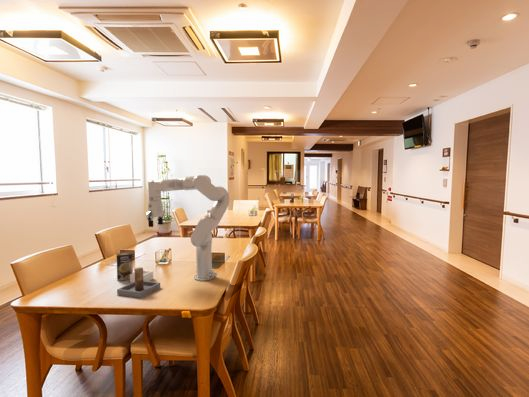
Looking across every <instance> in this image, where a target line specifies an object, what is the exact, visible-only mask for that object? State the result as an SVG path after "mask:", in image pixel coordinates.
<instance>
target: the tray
mask: <svg viewBox="0 0 529 397" xmlns="http://www.w3.org/2000/svg"><path fill="white" fill-rule="evenodd" d="M159 289H161V282H159V281H158V282H157V281H151V280H150V281H144V289H143V290H141V291H136V290H135V281H134V282H129V283H128V284H126V285H123V286H122V287H120V288H118V289H117V290H116V292H117V296H122V297H131V298H136V299H137V298H138V299H143V298H144V297H146V296H149V295H150V294H151V293H153V292H155V291H157V290H159Z"/></svg>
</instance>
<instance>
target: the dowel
mask: <svg viewBox="0 0 529 397" xmlns="http://www.w3.org/2000/svg"><path fill="white" fill-rule="evenodd" d="M133 269H134V270H133V271H134V272H135V290H136V291H141V290H143V289H144V281H143V270H144V268H143V267H139V266H138V267H134V268H133ZM134 272H133V273H134Z"/></svg>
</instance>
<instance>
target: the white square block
mask: <svg viewBox="0 0 529 397" xmlns="http://www.w3.org/2000/svg"><path fill="white" fill-rule="evenodd" d="M152 280H154V271H153V270H146V269H143V281H150V282H151V281H152ZM134 281H135V272H133V273H132V274H130V279H129V283H132V282H134Z"/></svg>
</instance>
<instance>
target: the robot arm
mask: <svg viewBox="0 0 529 397" xmlns="http://www.w3.org/2000/svg"><path fill="white" fill-rule="evenodd" d="M147 185H148V186H147V189H148V190H147V192H148V205H147V212H146V214H145V217H146V219H147V221H148V222H147V223H148V227H149V228H154V218H157V224H158V225H163V224H164V222H163V221H164V220H163V219H164V217H165V216H164V214H165V211H164V207H163V206H164V205H163V202H162V192H163V193H164V192H165V193H166V192H173V191H182V190H184V191H194V190H196V191H198V192H199V193H200V194H202V195H203V196H204V197H206V198H207V199H208V200H209V201H212V202H214V204H213V205H212V207H211V208H210V210H209V211H208V214H206V215H204V216H203V217H201V218H200V219H199V221H198V223H197V225H196V226H195V227H194V230H193V231H192V233H191V236H190V243H191V244H192V245H193V246H194V247H196V249H195V250H196V251H195V252H196V253H195V254H196V255H195V256H196V258H195V260H196V262H195V263H196V274H195V275H194V280H196V281H198V282H199V281H201V282H202V281H203V282H205V281H211V280H213V279H214V278H216V277H217V276H218V272H214V270H213V263H212V262H213V261H212V258H213V257H212V256H213V255H212V249H213V248H212V244H213V233H212V231H213V230H215V229H217V227H218V226H219V224H220V223H221V220H222V219H223V217H224V214H226V211H227V210H228V208H229V204H230V201H231V200H230V194H229V192H228V190H227V189H226V188H225V187H223V186H215V185H214V184H213V183H212V180H211V178H210V177H209V176H208V175H206V174H203V175H202V174H201V175H199V174H198V175H193V176H192V175H191V176H184V177H183V178H174V179H150V180H148V183H147Z"/></svg>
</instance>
